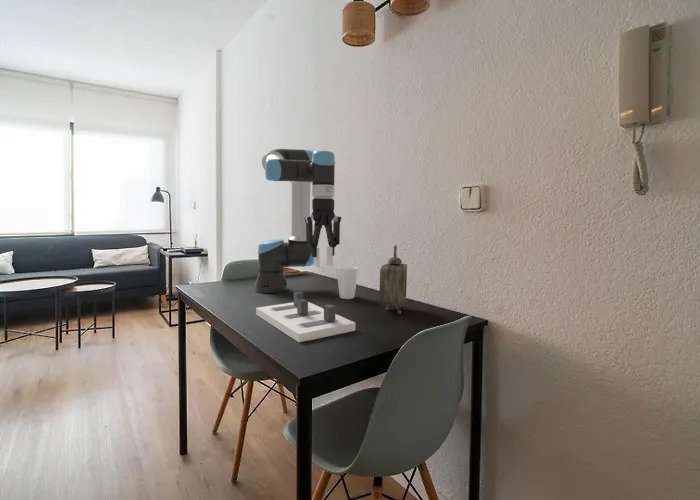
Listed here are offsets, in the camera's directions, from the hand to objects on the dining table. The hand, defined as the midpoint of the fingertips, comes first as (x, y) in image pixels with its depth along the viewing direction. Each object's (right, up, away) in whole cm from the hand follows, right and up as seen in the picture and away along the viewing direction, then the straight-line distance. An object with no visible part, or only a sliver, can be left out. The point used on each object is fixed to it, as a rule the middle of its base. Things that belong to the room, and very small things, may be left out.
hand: (323, 265), depth 132 cm
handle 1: (-10, -15, +8) cm, 20 cm away
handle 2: (+3, -17, -10) cm, 20 cm away
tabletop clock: (+26, -18, +14) cm, 34 cm away
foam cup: (+8, -15, +34) cm, 38 cm away
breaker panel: (-7, -19, -2) cm, 20 cm away
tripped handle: (-7, -16, -3) cm, 18 cm away
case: (-32, -9, +92) cm, 98 cm away
